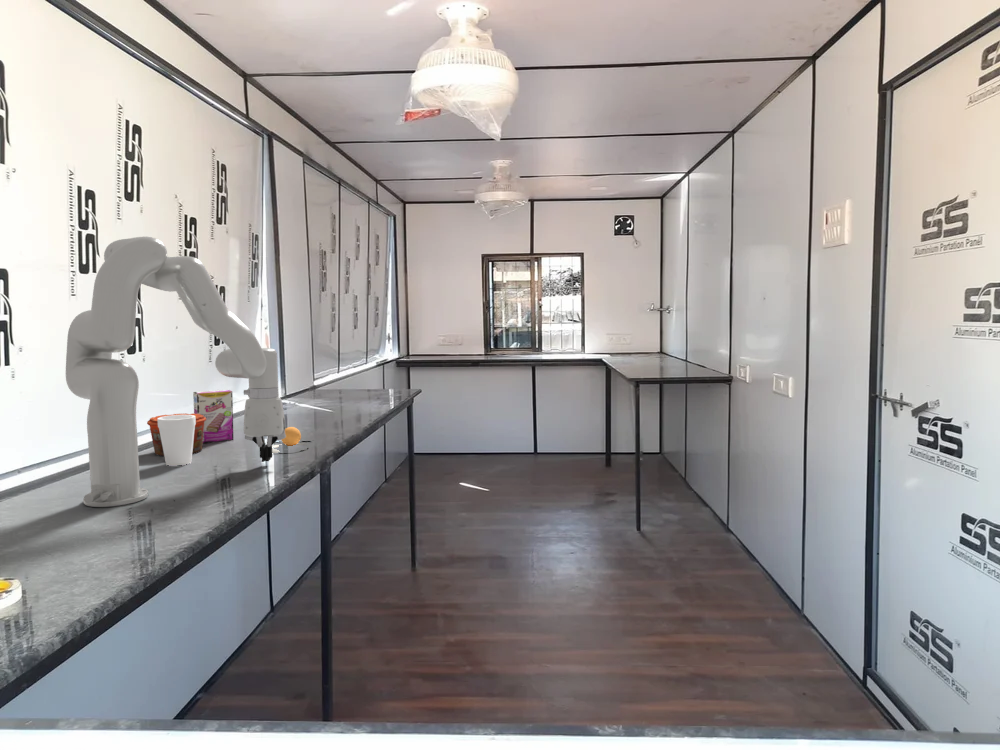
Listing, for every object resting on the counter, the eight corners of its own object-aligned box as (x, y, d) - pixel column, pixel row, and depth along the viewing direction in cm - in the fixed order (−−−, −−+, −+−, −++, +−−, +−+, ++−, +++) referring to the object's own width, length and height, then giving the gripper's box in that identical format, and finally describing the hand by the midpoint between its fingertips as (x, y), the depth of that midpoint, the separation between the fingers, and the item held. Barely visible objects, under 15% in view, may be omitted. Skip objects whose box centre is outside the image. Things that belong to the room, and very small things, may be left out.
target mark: (303, 453, 198) (303, 452, 198) (255, 454, 197) (255, 453, 197) (312, 444, 212) (312, 443, 212) (267, 445, 211) (267, 444, 211)
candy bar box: (198, 444, 213) (196, 393, 211) (194, 441, 217) (192, 391, 215) (234, 439, 220) (232, 390, 218) (229, 437, 224) (227, 389, 222)
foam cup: (204, 460, 190) (202, 415, 188) (185, 467, 181) (183, 420, 179) (172, 459, 191) (170, 414, 189) (152, 467, 182) (150, 419, 180)
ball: (303, 427, 213) (302, 446, 212) (284, 427, 212) (283, 446, 212) (298, 426, 207) (297, 446, 206) (278, 426, 207) (278, 446, 206)
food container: (179, 459, 191) (177, 422, 190) (136, 455, 196) (134, 419, 195) (219, 448, 206) (217, 414, 205) (178, 445, 211) (176, 411, 210)
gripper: (231, 396, 177) (233, 464, 178) (289, 395, 178) (291, 462, 180) (239, 392, 184) (242, 458, 186) (295, 391, 185) (297, 456, 187)
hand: (266, 460), depth 183 cm, fingers closed
